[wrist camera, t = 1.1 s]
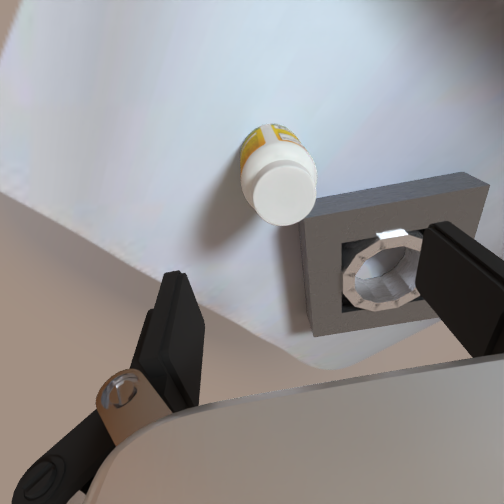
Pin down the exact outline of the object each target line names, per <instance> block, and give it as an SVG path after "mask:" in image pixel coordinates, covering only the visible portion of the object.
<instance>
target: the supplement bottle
mask: <svg viewBox="0 0 504 504" xmlns="http://www.w3.org/2000/svg"><path fill="white" fill-rule="evenodd" d="M240 168H241V187H242V191H243V194H244V197H245V198H246V200H247V202H248V203H249V204H250V205H251V206H252V207H253V208H254V209H255V211H256V212H257V214H258V215H259V216H260V217H261V218H262V219H263V220H264V221H266V222H267V223H270V224H272V225H276V226H288V225H292V224H295V223H297V222H299V221H301V220H302V219H303V218H305V217H306V216H307V215H308V214H309V213H310V211H311V210H312V208H313V206H314V204H315V200H316V185H317V169H316V166H315V163H314V161H313V159H312V157H311V155H310V154H309V153H308V151H307V150H306V149H305V147H304V146H303V145H302V144H301V142H300V141H299V139H298V138H297V137H296V136H295V134H294V133H293V132H292V131H291V130H289V129H288V128H286V127H284V126H282V125H279V124H265V125H261V126H259V127H257V128H256V129H254V130H253V131H252V132H251V133H250V134H249V135H248V136H247V137H246V139H245V141H244V142H243V145H242V147H241V152H240Z"/></svg>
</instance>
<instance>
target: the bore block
mask: <svg viewBox="0 0 504 504" xmlns="http://www.w3.org/2000/svg"><path fill="white" fill-rule="evenodd" d="M489 187H490V185H489V184H487V183H485V182H483V181H481V180H479V179H477V178H475V177H473V176H471V175H469V174H467V173H465V172H459V173H453V174H448V175H442V176H437V177H431V178H426V179H420V180H415V181H410V182H404V183H399V184H393V185H388V186H382V187H377V188H371V189H366V190H361V191H355V192H350V193H344V194H339V195H333V196H328V197H322V198H317V199H316V200H315V204H314V206H313V208H312V210H311V211H310V213H309V214H308V215H307V216H306V217H305V218H303V219H302V220H301V221H299V232H300V242H301V253H302V263H303V274H304V284H305V295H306V305H307V316H308V319H309V322H310V326H311V329H312V333H313V336H314V337H319V336H325V335H331V334H337V333H344V332H350V331H356V330H362V329H369V328H375V327H381V326H388V325H394V324H400V323H406V322H413V321H419V320H425V319H431V318H438V317H439V316H438V315H437V314H436V313H435V311H434V310H433V309H432V308H431V307H430V305H429V304H428V303H427V302H426V301H425V299H424V298H423V297H422V296H421V295H420V293H419V292H418V291H417V289H416V287H415V278H416V273H417V267H418V262H419V256H420V251H421V245H422V240H423V234H424V230H425V229H426V228H428V226H429V225H430V224H432V223H437V222H442V221H449V222H451V223H452V224H454V225H455V226H456V227H458V228H459V229H461V230H462V231H463V232H465V233H466V234H467V235H469V236H470V237H472V238H473V239H474V237H475V234H476V231H477V227H478V224H479V221H480V217H481V214H482V211H483V207H484V204H485V200H486V197H487V194H488V190H489ZM418 230H419V231H418ZM401 246H405V247H406V248H405V255H404V257H403V258H402V259H401V261H400V262H399V263H398V265H397V266H396V267H395V268H394V269H393V270H391V271H389V272H387V273H386V274H384V275H382V276H381V277H376V278H370V279H360V278H357V277H355V275H356V273H357V272H358V270H359V269H360V268H361V266H362V265H363V263H364V262H365V260H367V259H369V258H370V257H372V256H374V255H375V254H377V253H378V252H380V251H382V250H384V249H389V248H395V247H401Z"/></svg>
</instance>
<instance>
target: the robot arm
mask: <svg viewBox="0 0 504 504" xmlns="http://www.w3.org/2000/svg"><path fill="white" fill-rule="evenodd" d="M415 287H416V289H417V291H418V292H419V293H420V295H421V296H422V297H423V298H424V299H425V301H426V302H427V303H428V304H429V305H430V307H431V308H432V309H433V310H434V311H435V313H436V314H437V315H438V316H439V318H440V319H441V320H442V321H443V322H444V324H445V325H446V326H447V327H448V328H449V330H450V331H451V332H452V333H453V334H454V336H455V337H456V338H457V339H458V340H459V342H460V343H461V344H462V345H463V347H464V348H465V349H466V350H467V351H468V353H469V354H470V355H471V356H472V357H473V358H470V359H464V360H458V361H452V362H445V363H439V364H433V365H426V366H420V367H415V368H409V369H402V370H396V371H390V372H384V373H378V374H372V375H366V376H360V377H354V378H348V379H343V380H337V381H331V382H325V383H319V384H313V385H307V386H302V387H296V388H290V389H284V390H279V391H273V392H267V393H262V394H256V395H250V396H245V397H240V398H234V399H230V400H224V401H219V402H214V403H209V404H205V405H201V406H198V405H199V393H200V381H201V369H202V357H203V345H204V333H205V324H204V319H203V317H202V314H201V311H200V309H199V306H198V303H197V301H196V298H195V296H194V293H193V290H192V288H191V285H190V283H189V280H188V277H187V275H186V273H181V272H180V271H179V270H178V271H173V272H167V273H165V274H164V276H163V279H162V283H161V286H160V290H159V293H158V296H157V300H156V303H155V306H154V309H150V310H149V311H148V313H147V315H146V318H145V322H144V325H143V328H142V331H141V334H140V337H139V340H138V344H137V347H136V350H135V353H134V356H133V359H132V363H131V366H130V369H125V370H123V371H120V372H118V373H116V374H115V375H113V376H111V378H109V379H108V380H107V381H106V382H105V383H104V384H103V386H102V387H101V388H100V390H99V392H98V394H97V397H96V408H97V409H96V410H95V411H93V412H92V413H91V414H90V415H89V416H88V417H87V418H85V419H84V420H83V421H82V422H81V423H80V424H78V425H77V426H76V427H75V428H74V429H73V430H72V431H70V432H69V433H68V434H67V435H66V436H65V437H64V438H62V439H61V440H60V441H59V442H58V443H57V444H55V445H54V446H53V447H52V448H51V449H50V450H49V451H47V453H45V454H44V455H43V456H42V457H40V458H39V459H38V460H37V461H36V462H35V463H34V464H33V465H32V466H31V467H30V468H29V469H28V470H27V471H26V472H25V474H24V475H23V477H22V478H21V479H20V481H19V483H18V485H17V487H16V489H15V491H14V494H13V498H12V504H504V261H503V260H502V259H501V258H499V257H498V256H496V255H495V254H494V253H492V252H491V251H490V250H488V249H487V248H485V247H484V246H483V245H481V244H480V243H478V242H477V241H476V240H474V239H473V238H472V237H470V236H469V235H467V234H466V233H465V232H463V231H462V230H461V229H459V228H458V227H456V226H455V225H454V224H452V223H451V222H449V221H442V222H437V223H432V224H430V225H429V226H428V228H426V229H425V230H424V234H423V240H422V245H421V251H420V256H419V262H418V267H417V273H416V278H415Z"/></svg>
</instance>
